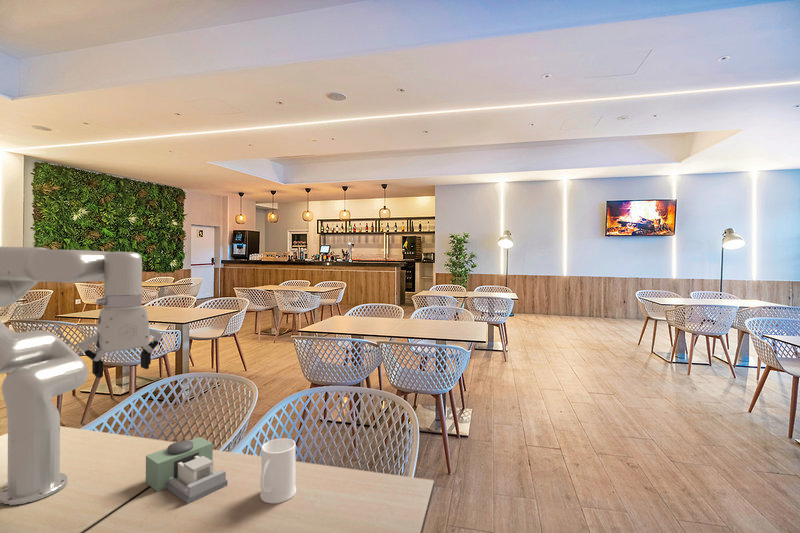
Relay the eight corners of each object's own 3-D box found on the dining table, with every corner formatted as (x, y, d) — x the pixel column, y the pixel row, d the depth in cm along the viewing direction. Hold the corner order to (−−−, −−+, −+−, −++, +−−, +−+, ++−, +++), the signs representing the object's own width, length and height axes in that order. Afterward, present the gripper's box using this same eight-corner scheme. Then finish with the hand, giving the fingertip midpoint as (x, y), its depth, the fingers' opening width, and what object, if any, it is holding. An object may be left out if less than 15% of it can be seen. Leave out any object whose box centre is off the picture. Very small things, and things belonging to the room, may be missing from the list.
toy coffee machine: (145, 482, 101) (145, 451, 101) (199, 460, 113) (199, 433, 113) (178, 508, 91) (179, 474, 91) (234, 481, 102) (234, 451, 102)
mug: (273, 515, 88) (274, 462, 88) (243, 507, 91) (243, 456, 91) (302, 487, 100) (303, 440, 100) (274, 481, 102) (274, 435, 102)
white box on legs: (213, 481, 100) (213, 461, 100) (193, 490, 96) (193, 469, 96) (197, 471, 104) (197, 452, 104) (177, 480, 100) (177, 460, 100)
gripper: (84, 306, 86) (83, 383, 86) (168, 300, 100) (167, 367, 100) (73, 304, 90) (73, 377, 90) (155, 299, 104) (154, 363, 104)
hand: (122, 372), depth 95 cm, fingers open, 9 cm apart
